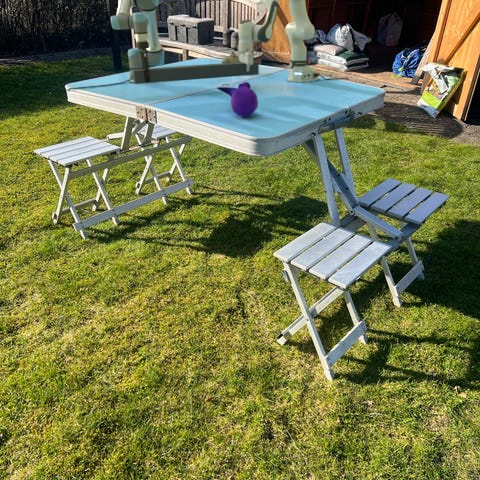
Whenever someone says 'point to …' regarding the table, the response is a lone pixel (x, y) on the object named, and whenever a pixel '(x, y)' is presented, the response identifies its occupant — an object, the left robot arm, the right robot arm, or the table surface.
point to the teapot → (231, 58)
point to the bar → (195, 72)
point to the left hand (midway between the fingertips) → (147, 81)
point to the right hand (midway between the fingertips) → (246, 70)
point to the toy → (242, 99)
